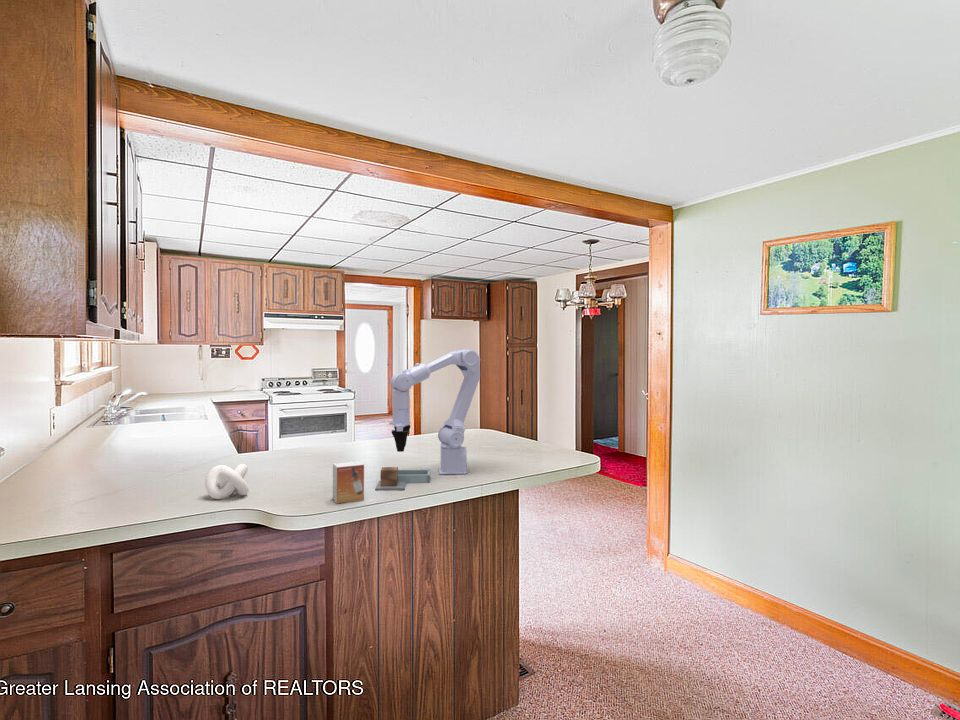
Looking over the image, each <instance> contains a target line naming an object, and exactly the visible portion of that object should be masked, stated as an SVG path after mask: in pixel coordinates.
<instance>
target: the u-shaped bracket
mask: <svg viewBox="0 0 960 720" xmlns="http://www.w3.org/2000/svg"><path fill="white" fill-rule="evenodd" d="M398 481H407V483H406V484H422V483H423V484H425V483H426V484H427V483H428V484H429V483H430V482H431V469H398Z"/></svg>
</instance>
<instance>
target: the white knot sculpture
mask: <svg viewBox="0 0 960 720" xmlns="http://www.w3.org/2000/svg"><path fill="white" fill-rule="evenodd" d="M248 471H249V468H248V465H247V464H246V463H239V464H238V465H237V466H236V467H235V468H234V469H233V468H232V467H230V466H228V465H225V464H217V465H216V466H214V467H212V468H211V469H210V470H209V471H208V473H207V474H206V476H205V477H206V478H205V480H204V485H205V487H204V488H205V490H206V493H207V494H208V495H209V497H211V498H213V499H215V500H224V499H226V498H228V497H230V496H231V495H232V494H233V493H234V491H235V493H236V494H237V495H238V496H241V497H243V496H244V497H245V496H246V495H247V494H248V493H249V491H250V490H249V489H250V488H249V485H248V484H247V482H246V480H245V479H244V478H245V477H246V475H247V473H248Z"/></svg>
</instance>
